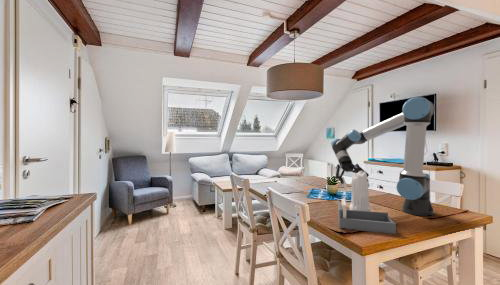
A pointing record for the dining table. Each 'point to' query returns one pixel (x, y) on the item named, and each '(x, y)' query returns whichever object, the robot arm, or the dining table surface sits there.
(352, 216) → the grey tray
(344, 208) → the plate
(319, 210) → the dining table surface
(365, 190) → the decorative vase
